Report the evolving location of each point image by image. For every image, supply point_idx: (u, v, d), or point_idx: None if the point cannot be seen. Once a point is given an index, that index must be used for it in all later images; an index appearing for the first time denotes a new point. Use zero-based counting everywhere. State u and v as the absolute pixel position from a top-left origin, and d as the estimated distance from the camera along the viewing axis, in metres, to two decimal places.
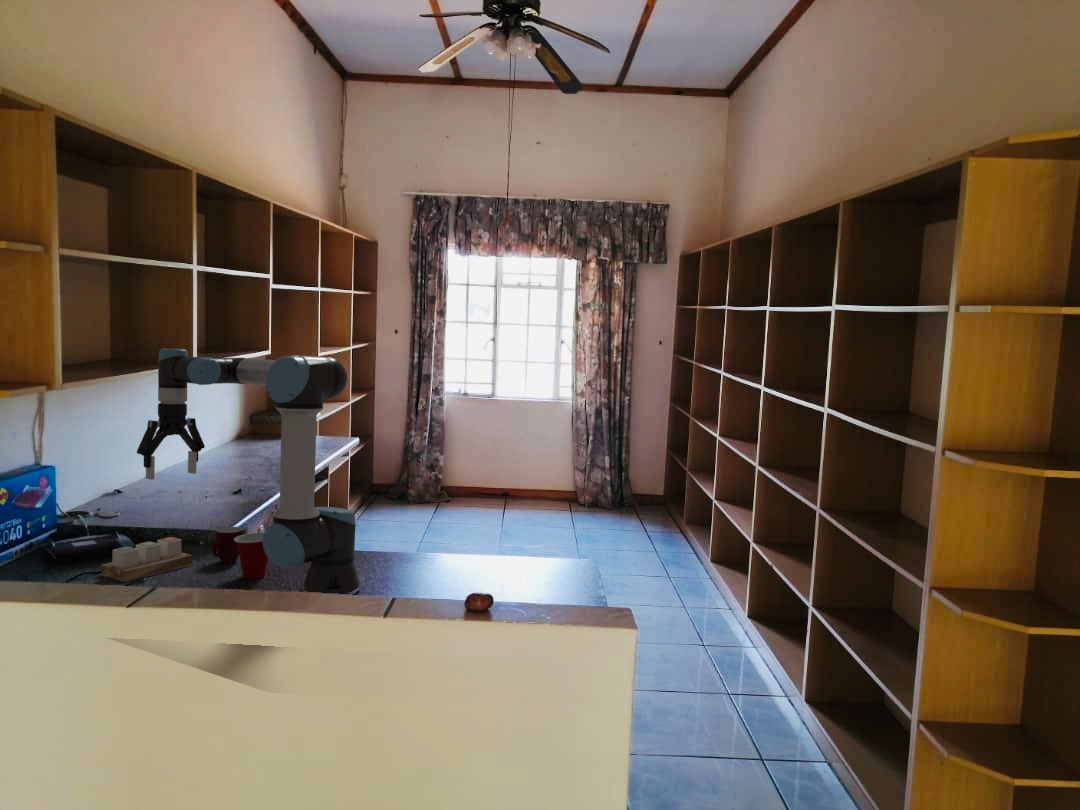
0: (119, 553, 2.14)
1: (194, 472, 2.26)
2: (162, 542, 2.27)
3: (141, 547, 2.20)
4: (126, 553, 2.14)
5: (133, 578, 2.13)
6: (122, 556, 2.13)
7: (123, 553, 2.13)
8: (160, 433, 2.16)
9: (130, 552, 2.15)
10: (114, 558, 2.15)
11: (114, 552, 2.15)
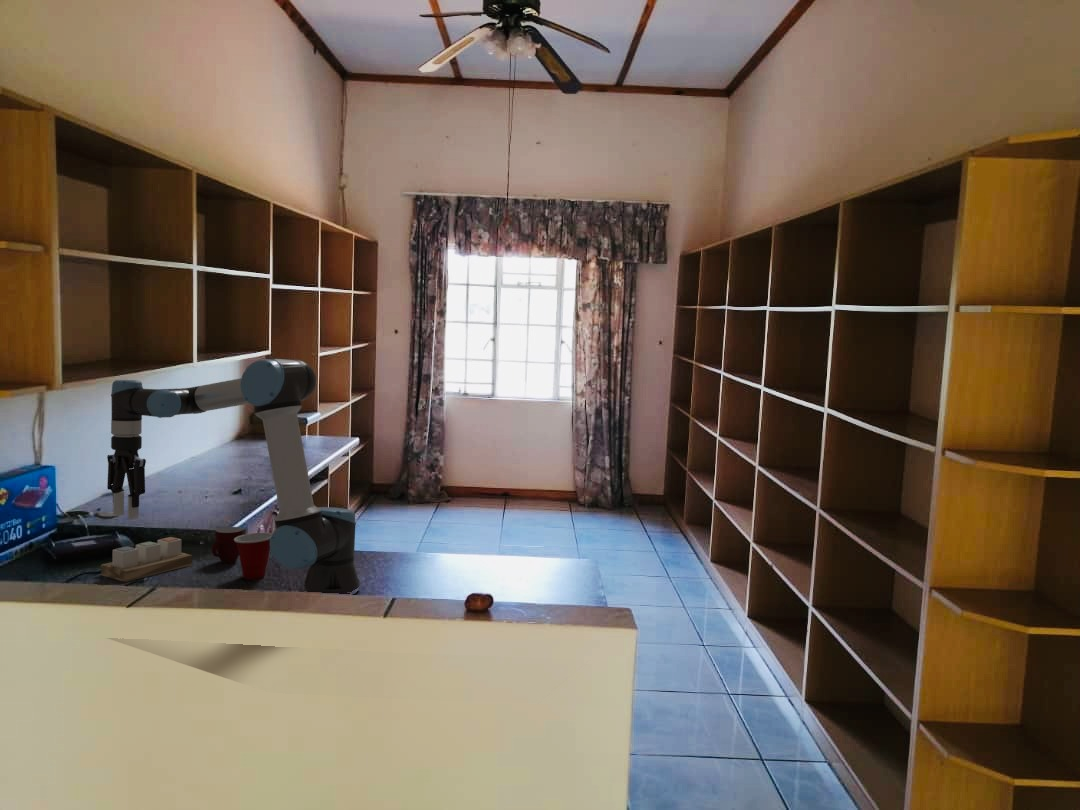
0: (119, 553, 2.14)
1: (128, 517, 2.13)
2: (162, 542, 2.27)
3: (141, 547, 2.20)
4: (126, 553, 2.14)
5: (133, 578, 2.13)
6: (122, 556, 2.13)
7: (123, 553, 2.13)
8: None
9: (130, 552, 2.15)
10: (114, 558, 2.15)
11: (114, 552, 2.15)
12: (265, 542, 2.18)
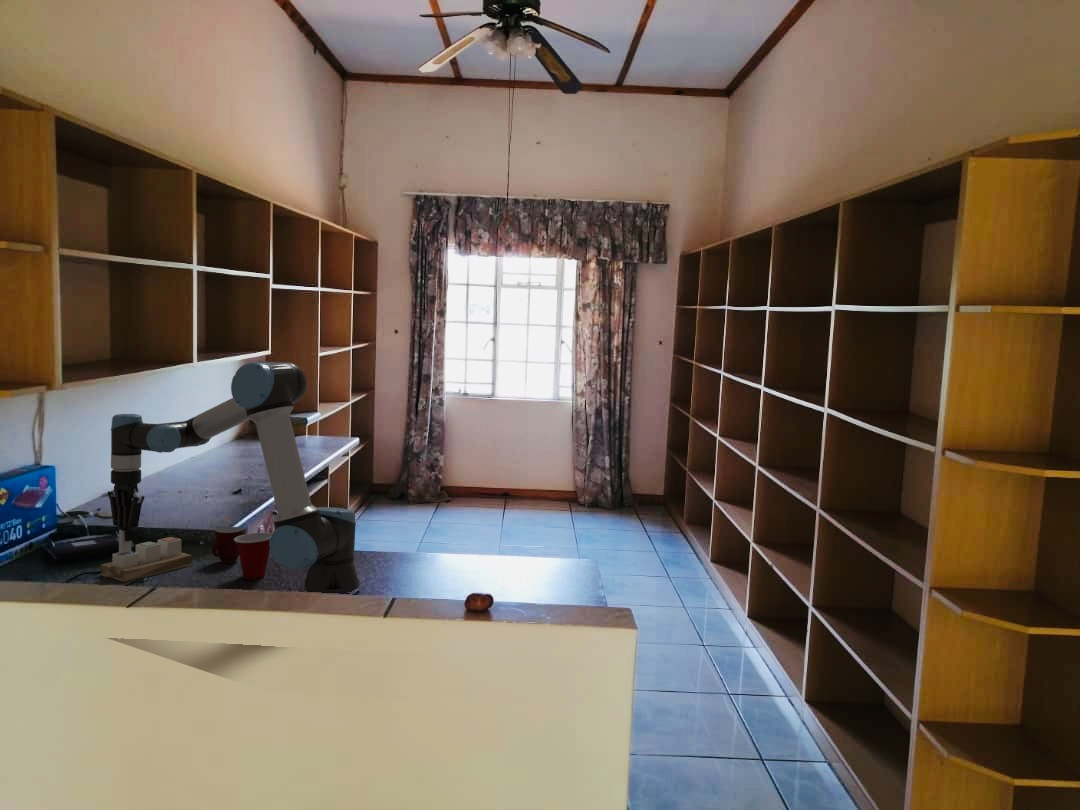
0: (119, 557, 2.14)
1: (121, 551, 2.15)
2: (162, 542, 2.27)
3: (141, 547, 2.20)
4: (126, 557, 2.14)
5: (133, 578, 2.13)
6: (122, 560, 2.13)
7: (123, 557, 2.13)
8: None
9: (130, 556, 2.15)
10: (114, 562, 2.15)
11: (114, 556, 2.15)
12: (265, 542, 2.18)
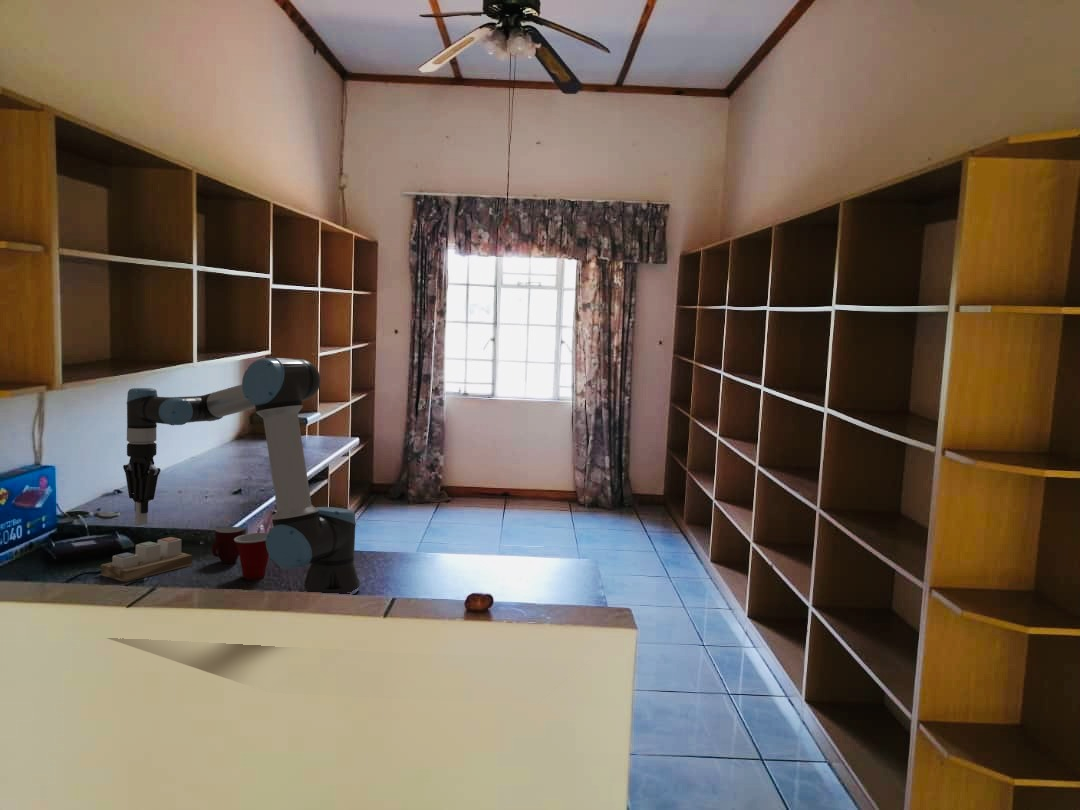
0: (119, 559, 2.14)
1: (137, 523, 2.18)
2: (162, 542, 2.27)
3: (141, 547, 2.20)
4: (126, 559, 2.14)
5: (133, 578, 2.13)
6: (122, 562, 2.13)
7: (123, 559, 2.13)
8: None
9: (130, 558, 2.15)
10: (114, 564, 2.15)
11: (114, 558, 2.15)
12: (265, 542, 2.18)
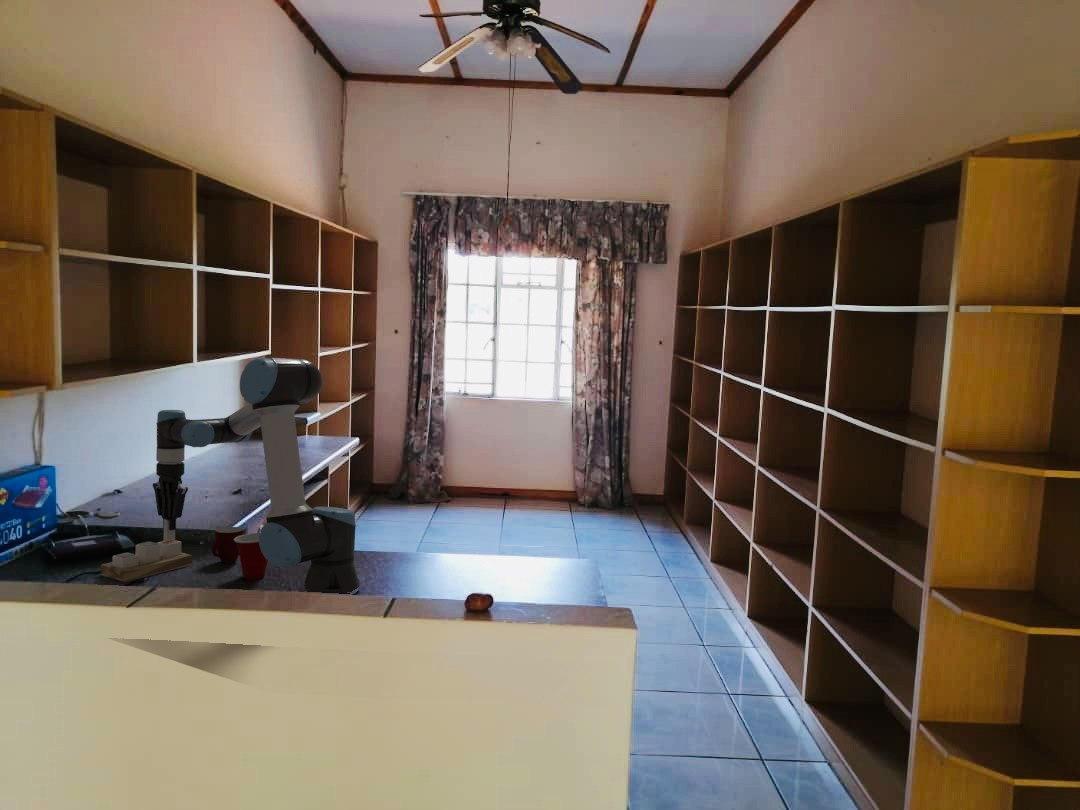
0: (119, 559, 2.14)
1: (166, 539, 2.27)
2: (162, 544, 2.27)
3: (141, 547, 2.20)
4: (126, 559, 2.14)
5: (133, 578, 2.13)
6: (122, 562, 2.13)
7: (123, 559, 2.13)
8: None
9: (130, 558, 2.15)
10: (114, 564, 2.15)
11: (114, 558, 2.15)
12: None
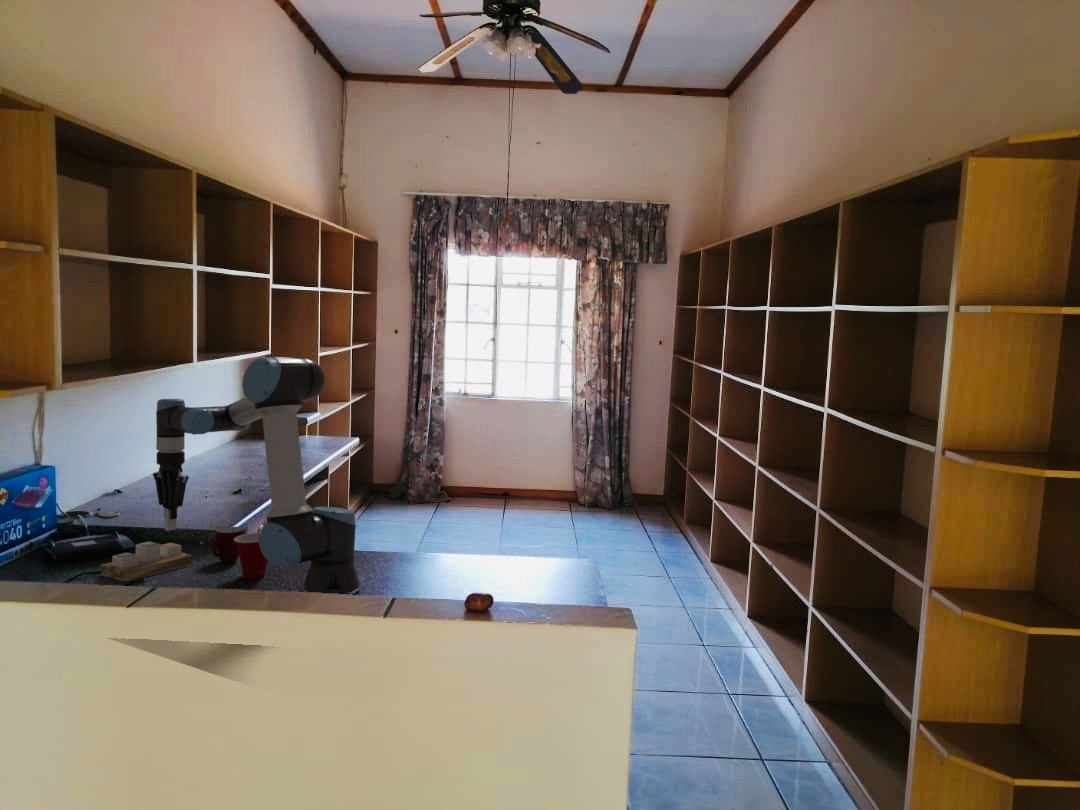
0: (119, 559, 2.14)
1: (167, 529, 2.27)
2: (162, 548, 2.27)
3: (141, 547, 2.20)
4: (126, 559, 2.14)
5: (133, 578, 2.13)
6: (122, 562, 2.13)
7: (123, 559, 2.13)
8: None
9: (130, 558, 2.15)
10: (114, 564, 2.15)
11: (114, 558, 2.15)
12: None
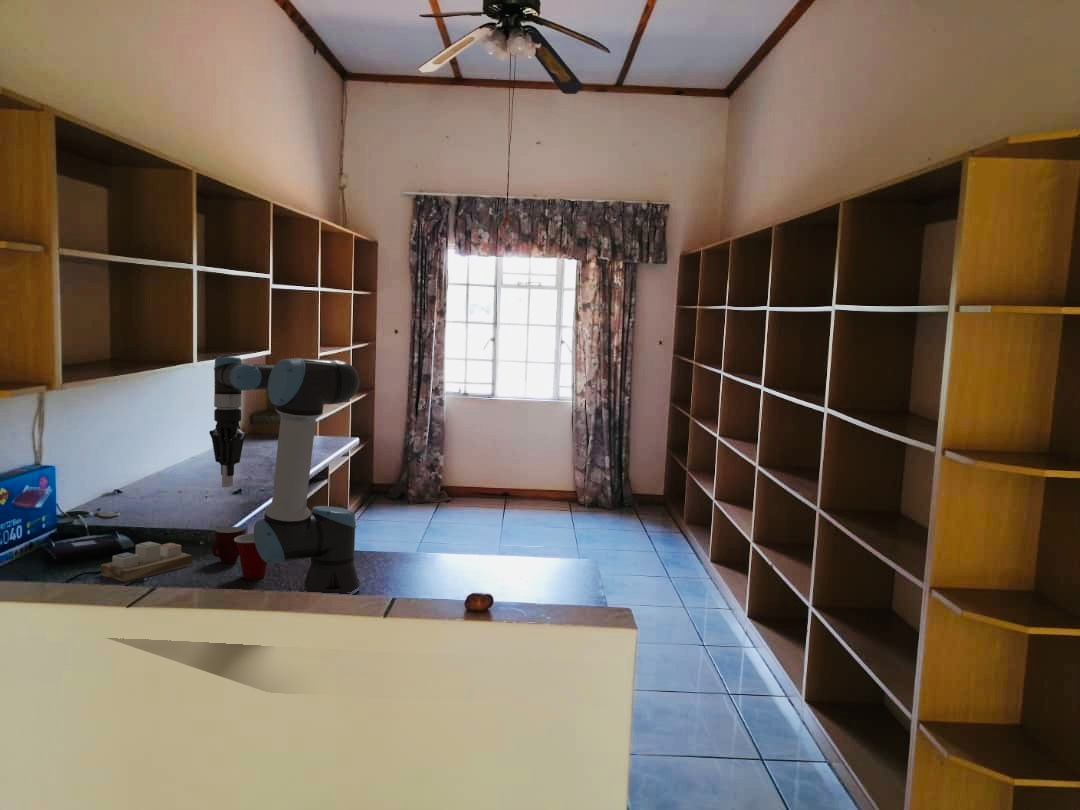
0: (119, 559, 2.14)
1: (224, 485, 2.29)
2: (162, 548, 2.27)
3: (141, 547, 2.20)
4: (126, 559, 2.14)
5: (133, 578, 2.13)
6: (122, 562, 2.13)
7: (123, 559, 2.13)
8: None
9: (130, 558, 2.15)
10: (114, 564, 2.15)
11: (114, 558, 2.15)
12: None
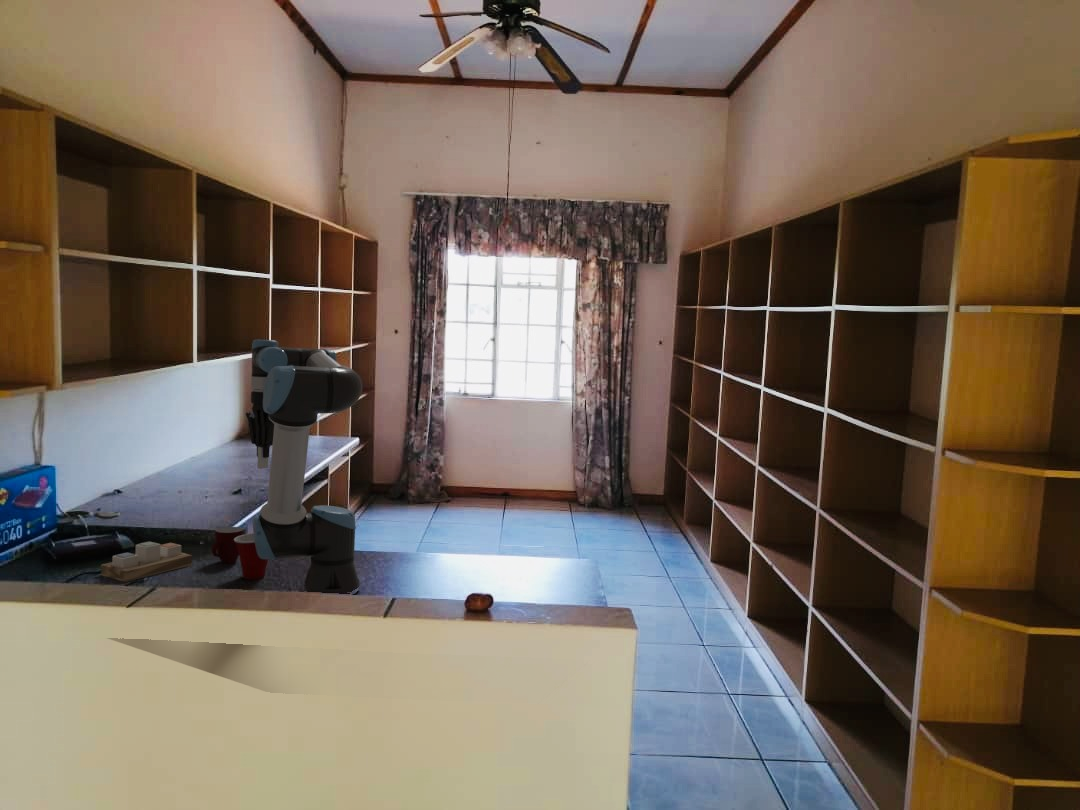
0: (119, 559, 2.14)
1: (259, 467, 2.32)
2: (162, 548, 2.27)
3: (141, 547, 2.20)
4: (126, 559, 2.14)
5: (133, 578, 2.13)
6: (122, 562, 2.13)
7: (123, 559, 2.13)
8: None
9: (130, 558, 2.15)
10: (114, 564, 2.15)
11: (114, 558, 2.15)
12: None
